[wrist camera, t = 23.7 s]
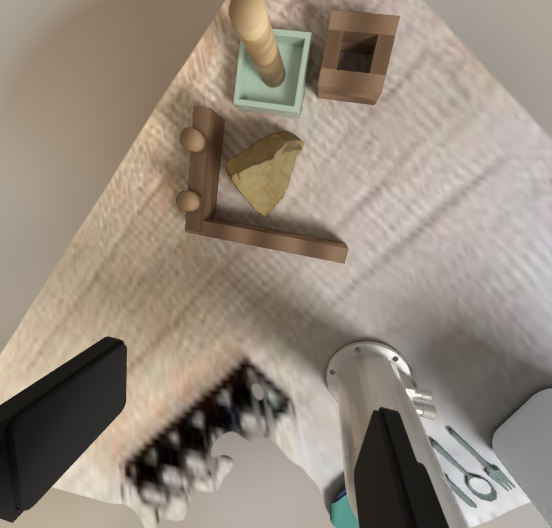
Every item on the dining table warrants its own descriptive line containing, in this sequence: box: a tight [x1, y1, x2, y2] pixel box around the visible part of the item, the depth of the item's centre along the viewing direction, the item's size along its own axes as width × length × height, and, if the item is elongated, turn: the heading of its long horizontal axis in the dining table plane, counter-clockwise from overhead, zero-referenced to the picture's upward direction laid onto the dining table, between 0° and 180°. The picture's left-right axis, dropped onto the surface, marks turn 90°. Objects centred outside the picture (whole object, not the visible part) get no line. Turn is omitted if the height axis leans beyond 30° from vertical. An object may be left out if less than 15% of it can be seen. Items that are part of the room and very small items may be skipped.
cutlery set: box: [330, 429, 515, 528], centre depth 46 cm, size 20×30×2 cm, turn 137°
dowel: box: [229, 0, 286, 88], centre depth 28 cm, size 3×3×12 cm
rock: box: [225, 131, 304, 218], centre depth 34 cm, size 11×9×10 cm
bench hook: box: [176, 106, 348, 264], centre depth 34 cm, size 22×16×7 cm
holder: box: [318, 10, 400, 105], centre depth 30 cm, size 7×7×4 cm
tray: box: [233, 29, 312, 118], centre depth 33 cm, size 8×8×2 cm
